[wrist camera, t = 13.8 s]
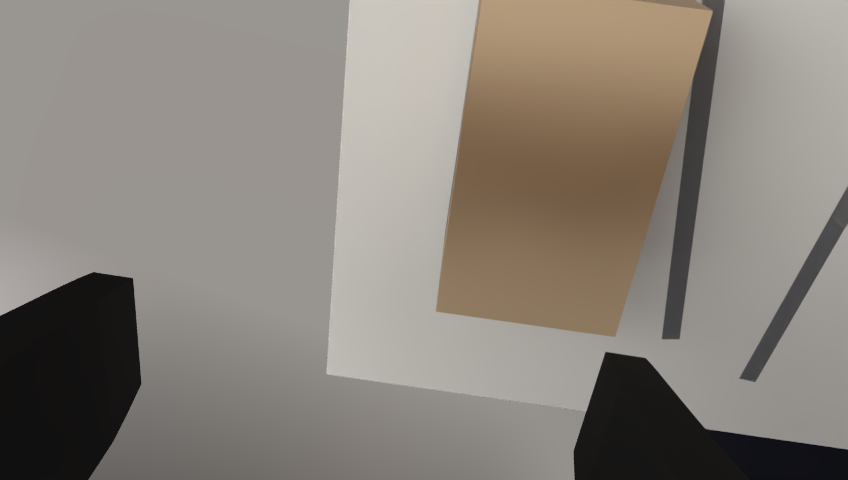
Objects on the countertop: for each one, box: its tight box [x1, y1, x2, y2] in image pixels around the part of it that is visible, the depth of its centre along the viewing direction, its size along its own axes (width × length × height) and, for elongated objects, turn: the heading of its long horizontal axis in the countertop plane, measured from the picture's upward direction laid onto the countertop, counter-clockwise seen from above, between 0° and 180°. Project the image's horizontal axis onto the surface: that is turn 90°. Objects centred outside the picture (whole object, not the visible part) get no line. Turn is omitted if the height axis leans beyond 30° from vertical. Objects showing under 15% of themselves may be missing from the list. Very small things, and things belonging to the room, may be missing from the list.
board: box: [327, 0, 848, 449], centre depth 18 cm, size 16×24×1 cm, turn 83°
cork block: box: [436, 0, 713, 337], centre depth 16 cm, size 7×4×4 cm, turn 173°
